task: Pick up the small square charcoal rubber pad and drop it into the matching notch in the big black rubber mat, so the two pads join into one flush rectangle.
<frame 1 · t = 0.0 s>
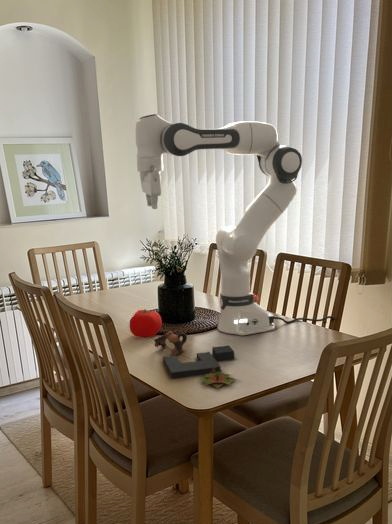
hand: (152, 207, 192), 48 cm above the table, tool pointing down, fingers open, 8 cm apart
brown animal figurine: (172, 351, 194), on the table
notched mat: (191, 367, 179), on the table
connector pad: (223, 357, 187), on the table
tomato: (146, 336, 210), on the table
lily flower: (217, 382, 168), on the table
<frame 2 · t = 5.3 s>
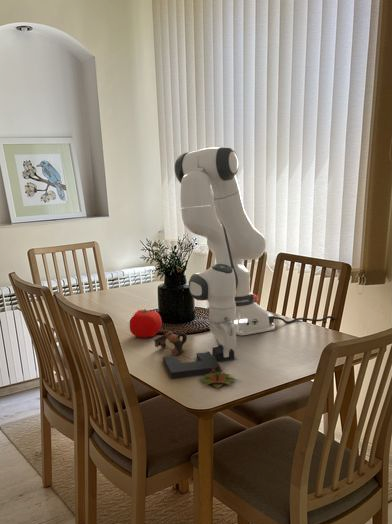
hand: (222, 352, 186), 2 cm above the table, tool pointing down, fingers closed on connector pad, 6 cm apart
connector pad: (223, 357, 187), on the table, touching gripper
everything else where it was.
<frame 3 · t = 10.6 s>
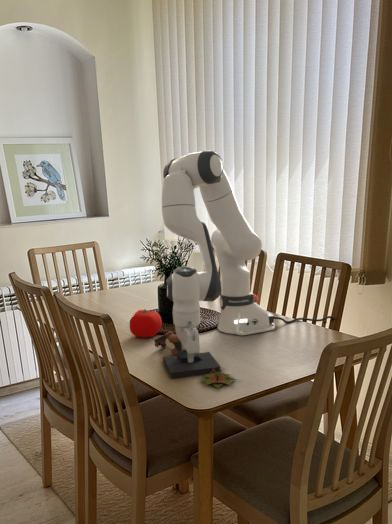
hand: (187, 357, 182), 2 cm above the table, tool pointing down, fingers closed on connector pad, 6 cm apart
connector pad: (188, 362, 182), on the table, touching gripper
everything else where it was.
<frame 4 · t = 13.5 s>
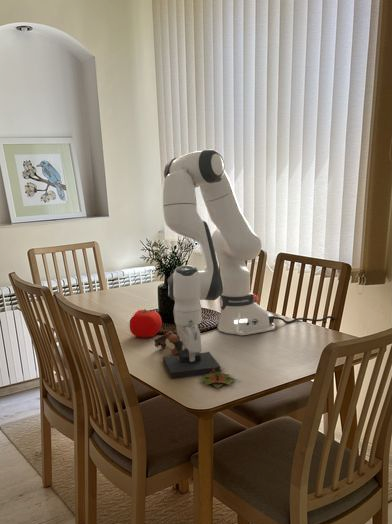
hand: (189, 356, 182), 2 cm above the table, tool pointing down, fingers closed on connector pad, 6 cm apart
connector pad: (189, 361, 182), point 1 cm above the table, touching gripper
everything else where it was.
when the fingers open (2 cm above the table, at t = 16.0 s): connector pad stays where it is, on the table.
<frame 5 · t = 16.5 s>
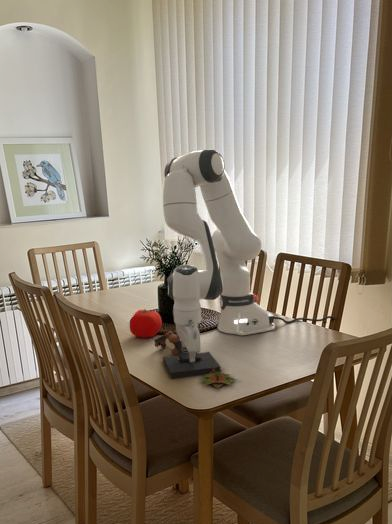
hand: (188, 356, 182), 3 cm above the table, tool pointing down, fingers open, 8 cm apart
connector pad: (189, 363, 182), on the table
everything else where it was.
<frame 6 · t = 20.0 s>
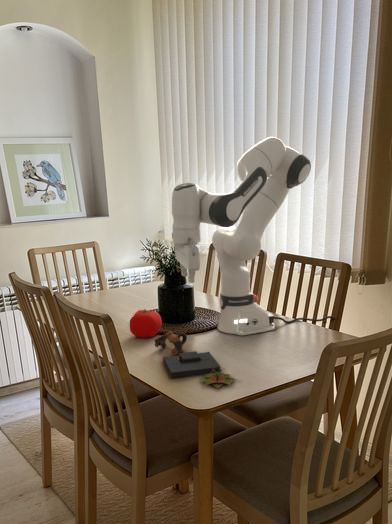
hand: (187, 279, 179), 27 cm above the table, tool pointing down, fingers open, 8 cm apart
nothing on the table moved.
at the end: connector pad 0.3 cm from the target spot on the notched mat, point 0.0 cm above the notched mat's base; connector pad tilted 0°; the gripper is holding nothing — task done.
